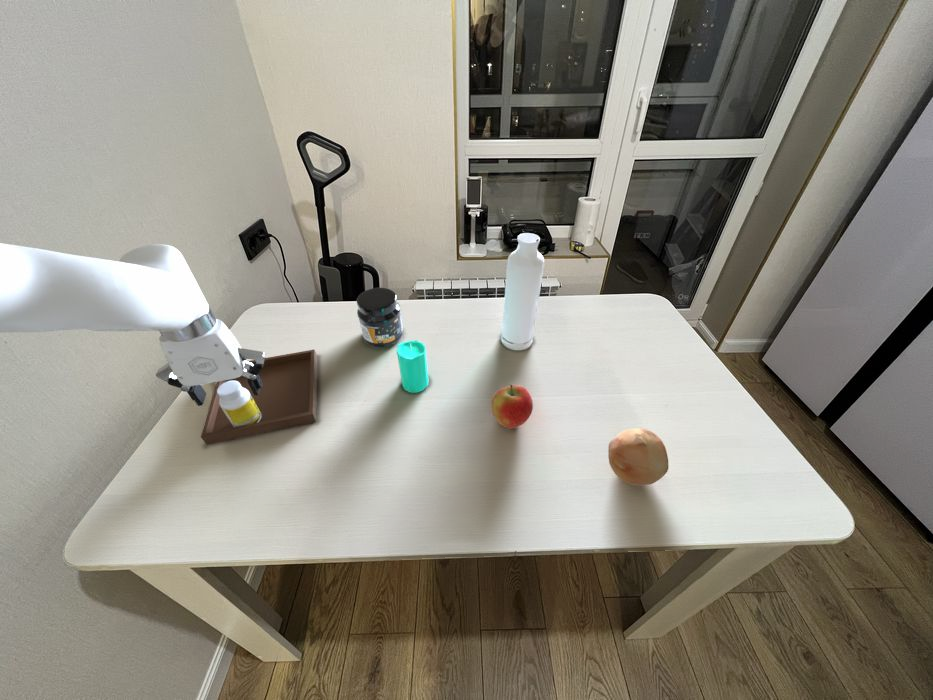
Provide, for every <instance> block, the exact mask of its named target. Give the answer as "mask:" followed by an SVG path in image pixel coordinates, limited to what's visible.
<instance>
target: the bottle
mask: <svg viewBox="0 0 933 700" xmlns="http://www.w3.org/2000/svg"><path fill="white" fill-rule="evenodd" d="M516 241H517V242H518V244H517V246H516V249H515V250H514V251H512V252H511V253H509V255H508V257H507V260H506V261H507V262H506V263H507V264H506V273H505V287H504V299H503V311H502V324H501V336H500V341H501V343H502V344H503V346H504V347H506V348H507V349H510V350H511V351H512V350H513V351H523V350H527V349H528V348H530V347H532V344H533V341H534V340H533V339H534V334H535V329H536V328H535V327H536V320H537V313H538V308H539V303H540V302H539V300H540V294H541V287H542V282H543V277H544V276H543V274H544V268H545V263H546V262H545V261H546V260H545V258H544V256H543V255H542V254H541V252H539V249H538V248H539V244H540V243H541V242H540V241H541V237H540V236H539V235H538V234H535V233H530V232H523V233H520V234H519V235H517V238H516Z"/></svg>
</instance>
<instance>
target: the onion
mask: <svg viewBox="0 0 933 700" xmlns="http://www.w3.org/2000/svg"><path fill="white" fill-rule="evenodd" d="M607 448H608V449H607V450H608V451H607V452H608V453H607V454H608V457H607V458H608V463H609V466H610V468H611V470H612V471H613V473H614V475H616V477H617V478H618V479H620V480H621V481H622V482H624V483H626V484H629V485H633V486H647V485H652V484H655V483H656V482H658V481H659V480H661V479H663V477H665V475H666V474H667V473H668V471H669V456H668V453H667V448H666V446H665V444H664V442H663V441H662V439H661V438H660V437H659V436H658V435H657V434H656V433H655V432H653V431H651V430H649V429H646V428H642V427H641V428H640V427H633V428H628V429H624V430H622V431H621V432H619V433H617V434H616V435H615V436H614V437H613V438H611V440H610V441H609V442H608V447H607Z"/></svg>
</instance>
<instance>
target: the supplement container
mask: <svg viewBox="0 0 933 700" xmlns="http://www.w3.org/2000/svg"><path fill="white" fill-rule="evenodd" d="M397 296H398V295H397V294H396V293H395V291H393V290H392V289H390V288H388V287H387V288H386V287H373V288H368V289H366V290H364V291H362V292H361V293H360V294H359V295H358V296H357V298H356V305H357V310H356V315H357V317H358V320H359V321H358V322H359V324H360V329H361V333H362V339H363V340H364V342H365V343H366V344H367V345H370V346H371V347H375V348H387V347H390V346H393V345H395V344H397V343H398V342H399V341H401V339H402V338H403V336H404V327H403V321H402V314H401V305H400V304H399V302H398V297H397Z"/></svg>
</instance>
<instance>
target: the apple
mask: <svg viewBox="0 0 933 700" xmlns="http://www.w3.org/2000/svg"><path fill="white" fill-rule="evenodd" d="M490 407H491V412H492V415H493V417H494V419H495V420H496V422H497V423H498V424H499V425H501V426H502V427H504V428H506V429H515V428H519V427H520V426H522V425H524V424H525V423H526V422H527V421H528V420H529V418H530V417H531V415H532V413H533V409H534V403H533V398H532V396H531V394H530V392H529V391H528V389H526V387H524V386H522V385H518V384H517V385H515V384H514V385H512V384H509V385H508V386H504V387H502V388H500V389H498V390H497V391H495V393H494V395H492V399H491V405H490Z"/></svg>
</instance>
